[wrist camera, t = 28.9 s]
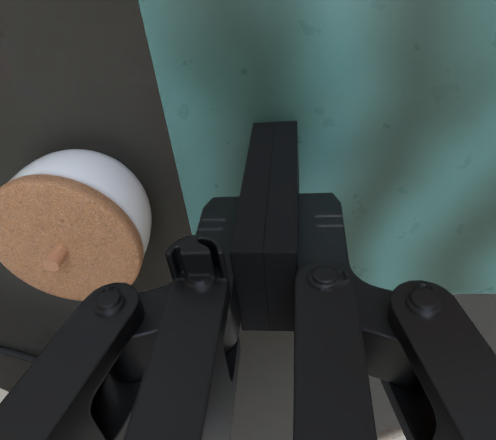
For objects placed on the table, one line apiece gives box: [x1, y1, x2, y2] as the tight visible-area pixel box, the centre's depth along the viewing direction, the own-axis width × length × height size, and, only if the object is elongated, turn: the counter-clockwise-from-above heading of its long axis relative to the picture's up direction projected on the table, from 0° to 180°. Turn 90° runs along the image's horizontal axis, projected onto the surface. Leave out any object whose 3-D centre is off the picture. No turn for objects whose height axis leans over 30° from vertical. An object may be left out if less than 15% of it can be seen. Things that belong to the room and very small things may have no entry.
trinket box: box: [0, 149, 152, 301], centre depth 32 cm, size 11×11×9 cm
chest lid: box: [138, 0, 496, 294], centre depth 15 cm, size 15×16×1 cm
